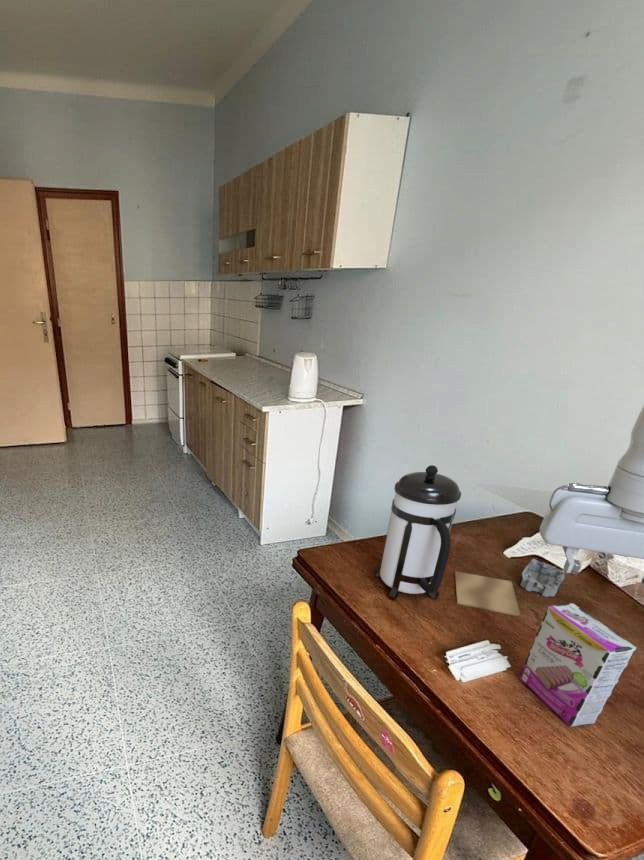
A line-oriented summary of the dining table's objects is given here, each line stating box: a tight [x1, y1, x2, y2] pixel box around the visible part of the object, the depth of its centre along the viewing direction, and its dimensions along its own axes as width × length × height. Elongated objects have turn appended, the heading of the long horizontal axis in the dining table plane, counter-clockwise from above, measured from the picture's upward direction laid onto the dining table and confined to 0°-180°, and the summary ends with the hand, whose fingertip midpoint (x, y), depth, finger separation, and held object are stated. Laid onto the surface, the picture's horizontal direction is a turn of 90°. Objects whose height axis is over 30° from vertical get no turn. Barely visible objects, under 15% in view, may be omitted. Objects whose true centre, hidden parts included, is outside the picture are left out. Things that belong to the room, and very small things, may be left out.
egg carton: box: [520, 558, 566, 598], centre depth 110 cm, size 11×8×4 cm
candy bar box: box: [518, 602, 637, 728], centre depth 76 cm, size 11×5×16 cm, turn 9°
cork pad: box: [454, 570, 521, 618], centre depth 108 cm, size 12×14×1 cm
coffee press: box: [373, 465, 462, 601], centre depth 103 cm, size 17×16×30 cm
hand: (608, 578), depth 69 cm, fingers open, 8 cm apart
